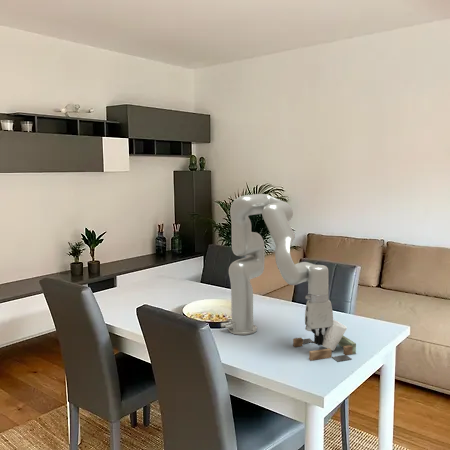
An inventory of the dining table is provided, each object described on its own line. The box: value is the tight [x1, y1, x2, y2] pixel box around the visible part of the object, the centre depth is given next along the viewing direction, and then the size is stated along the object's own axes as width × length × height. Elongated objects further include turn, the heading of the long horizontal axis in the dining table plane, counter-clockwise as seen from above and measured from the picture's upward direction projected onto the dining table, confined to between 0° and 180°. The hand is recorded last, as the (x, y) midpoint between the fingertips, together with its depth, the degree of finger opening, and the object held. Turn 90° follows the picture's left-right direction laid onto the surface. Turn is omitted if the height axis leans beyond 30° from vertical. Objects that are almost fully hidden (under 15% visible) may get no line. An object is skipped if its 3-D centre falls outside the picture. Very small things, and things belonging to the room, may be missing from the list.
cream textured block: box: [321, 319, 348, 351], centre depth 180 cm, size 8×8×10 cm
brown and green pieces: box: [292, 335, 357, 363], centre depth 180 cm, size 19×24×4 cm
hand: (318, 343), depth 178 cm, fingers closed
